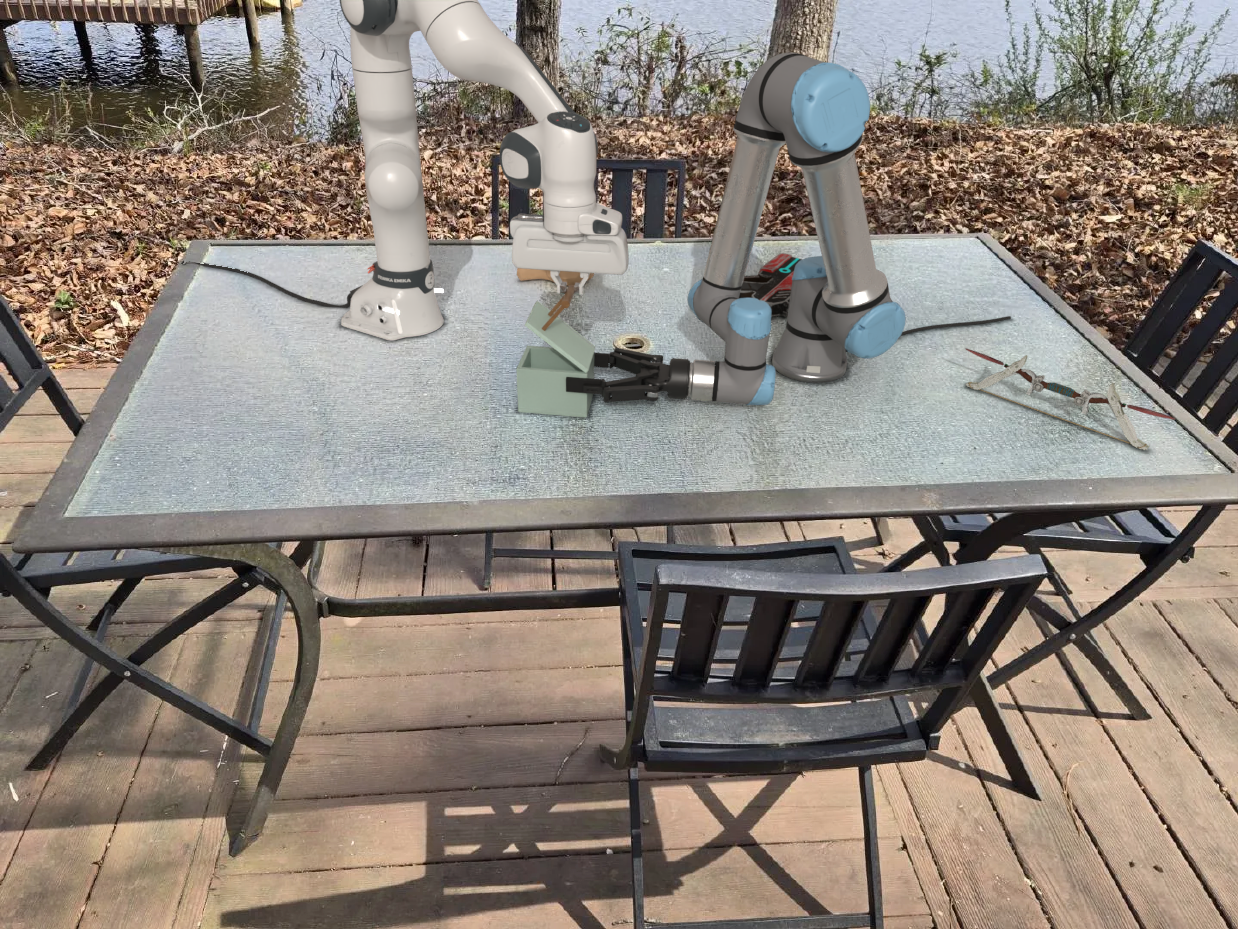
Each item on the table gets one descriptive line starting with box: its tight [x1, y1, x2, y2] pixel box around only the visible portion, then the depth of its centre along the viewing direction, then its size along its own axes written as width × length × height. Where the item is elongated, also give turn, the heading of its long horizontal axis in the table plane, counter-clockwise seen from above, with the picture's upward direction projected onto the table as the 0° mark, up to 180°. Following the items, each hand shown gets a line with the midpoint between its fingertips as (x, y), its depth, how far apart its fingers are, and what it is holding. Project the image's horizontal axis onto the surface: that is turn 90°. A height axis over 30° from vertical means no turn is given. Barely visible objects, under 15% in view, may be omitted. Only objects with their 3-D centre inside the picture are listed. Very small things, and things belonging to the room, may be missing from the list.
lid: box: [524, 285, 596, 373], centre depth 158 cm, size 14×10×8 cm
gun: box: [739, 252, 802, 318], centre depth 215 cm, size 4×31×19 cm
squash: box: [516, 268, 595, 287], centre depth 216 cm, size 11×20×9 cm, turn 90°
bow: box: [964, 347, 1177, 451], centre depth 165 cm, size 39×2×10 cm, turn 47°
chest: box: [515, 345, 595, 419], centre depth 166 cm, size 13×10×9 cm
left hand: (570, 293), depth 155 cm, fingers closed
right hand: (570, 370), depth 164 cm, fingers closed on chest, 10 cm apart
